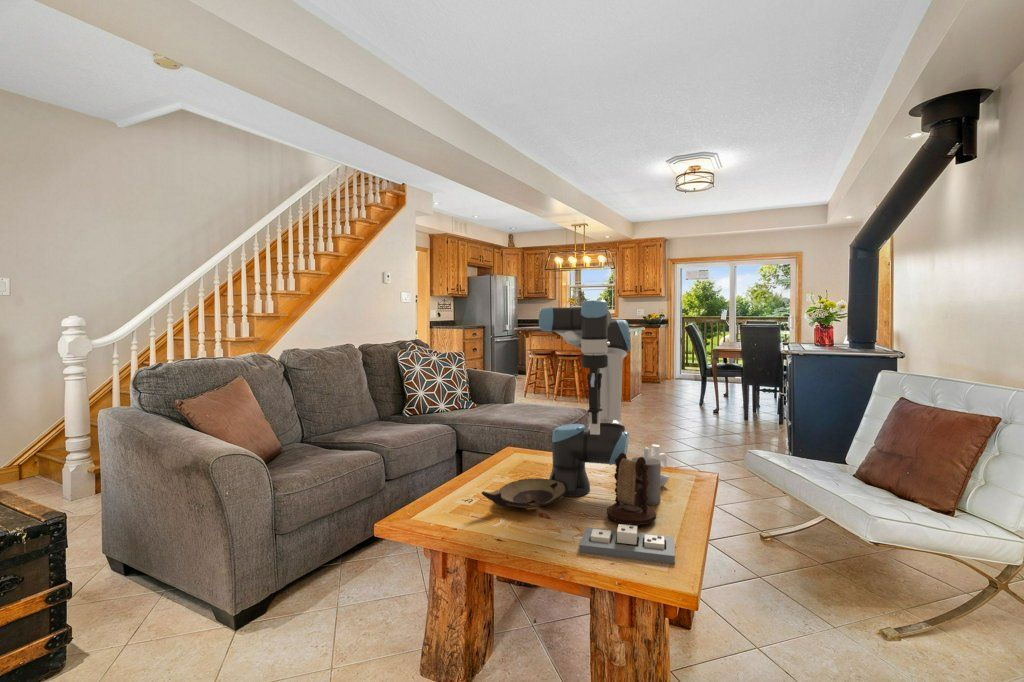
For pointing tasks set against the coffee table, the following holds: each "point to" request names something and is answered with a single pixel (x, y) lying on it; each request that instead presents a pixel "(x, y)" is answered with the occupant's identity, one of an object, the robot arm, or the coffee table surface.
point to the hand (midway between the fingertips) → (595, 433)
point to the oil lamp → (527, 493)
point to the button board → (628, 547)
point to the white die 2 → (627, 534)
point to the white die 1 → (601, 536)
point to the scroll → (631, 493)
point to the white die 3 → (654, 541)
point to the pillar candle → (651, 480)
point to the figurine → (659, 456)
